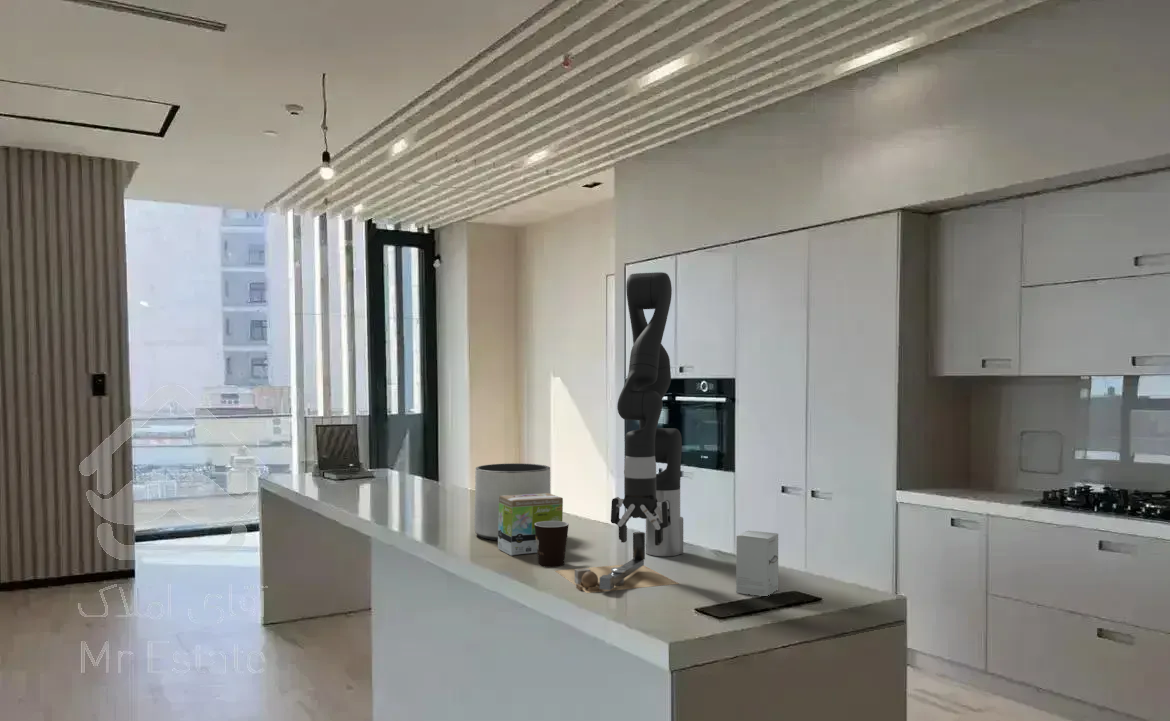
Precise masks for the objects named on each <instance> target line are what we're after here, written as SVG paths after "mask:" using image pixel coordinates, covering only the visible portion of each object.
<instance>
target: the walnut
mask: <svg viewBox="0 0 1170 721" xmlns="http://www.w3.org/2000/svg"><path fill="white" fill-rule="evenodd" d="M597 583H598V577H597V575H596V574H595V573H594V572H592V571H588V572H586V573H584V574H583V576H582V584H583V585H584V586H585V587H586V588H588V587H595V586H596V585H597Z"/></svg>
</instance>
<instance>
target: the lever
mask: <svg viewBox="0 0 1170 721" xmlns="http://www.w3.org/2000/svg"><path fill="white" fill-rule="evenodd" d="M645 560H646V532H643V531H642V532H641V531H636V532H632V559H630V560H628V561H627V562H625V563H624V564H622V565H623V566H621V567H615V568H611V573H610V574H608V575H603V576H601V577H600V589H605V590H611V589H612V588H614V585H615V584H616V583H618V582H619V581H621V580H622V579H624V578H625V577H627V576H628V575H630V574H631V573H633V572H634V571H636V570H637V569H639V568H640V567H642V566H643V565H644V566H645Z"/></svg>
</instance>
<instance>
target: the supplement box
mask: <svg viewBox="0 0 1170 721" xmlns="http://www.w3.org/2000/svg"><path fill="white" fill-rule="evenodd" d="M735 548H736V554H735V555H736V556H735V557H736V558H735V559H736V560H735V562H736V564H735V565H736V569H735V570H736V573H735V574H736V576H735V578H736V579H735V584H736V586H735V592H736V593H737V594H743V595H748V594H750V595H749V596H754V595H759V596H758V597H761V596H768V595H769V596H771V595H772V594H773V592H774V591H775V592H777V591H778V590H779V533H776V532H767V531H755V530H746V531H745V532H742V533H740V534H737V535H736V546H735ZM777 589H778V590H777ZM776 590H777V591H776ZM775 592H774V593H775ZM771 593H772V594H771ZM770 594H771V595H770ZM760 595H761V596H760ZM769 596H768V597H769Z"/></svg>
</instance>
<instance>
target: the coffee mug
mask: <svg viewBox="0 0 1170 721" xmlns="http://www.w3.org/2000/svg"><path fill="white" fill-rule="evenodd" d="M569 525H570V524H569V523H568V522H566V521H562V522H561V521H542V522H537V523H535V524H534V526H535V535H536V544H537V553H536V554H537V560H538V561H537V562H538V565H539V566H540V565H541V566H540V567H544V566H545V567H546V568H557V567H561V566H564V565H565V559H566V550H567V541H568V534H569Z"/></svg>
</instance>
